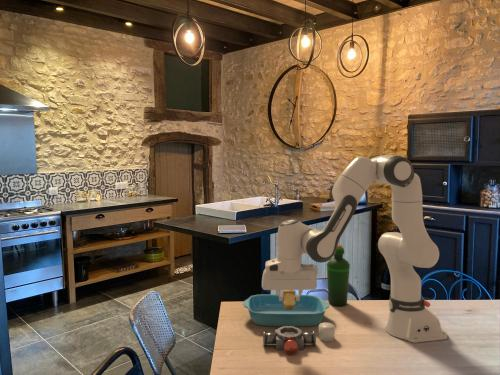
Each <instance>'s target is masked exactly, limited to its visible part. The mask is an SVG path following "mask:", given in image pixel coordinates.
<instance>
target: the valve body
mask: <svg viewBox="0 0 500 375" xmlns="http://www.w3.org/2000/svg"><path fill="white" fill-rule="evenodd" d="M262 344H263V346H266V345H275V349H276V351H284V352H285V353H286V354H287V355H291V356H292V355H295V354H296V353H297V352H298V351H304V350H305V347H304V346H305V345H312V346H316V344H317V338H316V331H315V330H312V331H311V332H309V331H308V332H307V331H306V332H305V331H304V332H302V329H300V328H299V327H297V326H279V328H277V329H274V332H266V331H263V332H262Z"/></svg>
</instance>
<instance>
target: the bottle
mask: <svg viewBox="0 0 500 375" xmlns="http://www.w3.org/2000/svg"><path fill="white" fill-rule="evenodd" d="M344 255H345V249H344V247H343V244H339V243H338V245H337V250H336V253H335V255H334V256H333V257H332V258H331V259H330V260H329V261H327V262H326V271H327V272H326V275H327V279H326V280H327V298H328V304H330V305H332V306H335V307H344V306H346V305H347V304H348V292H349V279H350V268H351V266H350V265H351V264H350V262H349V261H348V260H347V259H345V258H344Z"/></svg>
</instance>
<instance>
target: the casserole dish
mask: <svg viewBox="0 0 500 375" xmlns="http://www.w3.org/2000/svg"><path fill="white" fill-rule="evenodd" d="M329 304H330V303H329V302H328V301H326V300H324V299H322V298H321V297H319V296H316V295H310V294H301V296H300V301H295V309H292V310H287V309H284V308H283V301H279V296H278V295H277V293H276V294H274V293H273V294H272V293H270V294H264V293H263V294H255V295H250V296H249V297H248V298H246V299H245V300H244V301H243V303H242V305H243V307H244V308H246V309H247V310H248V313H249V316H250V319H251V321H252V322H253V323H254V324H256V325H257V326H263V327H265V326H266V327H268V326H269V327H284V326H292V327H293V326H294V327H314V326H319V324H320V323H322V321H323V319H324V315H325V312H326V310H327V309H329V307H330V305H329Z"/></svg>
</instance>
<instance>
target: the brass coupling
mask: <svg viewBox="0 0 500 375" xmlns="http://www.w3.org/2000/svg"><path fill="white" fill-rule="evenodd" d="M282 295H283V308H284V309H287V310H292V309H295V296H296V295H297V294H296V290H282Z"/></svg>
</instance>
